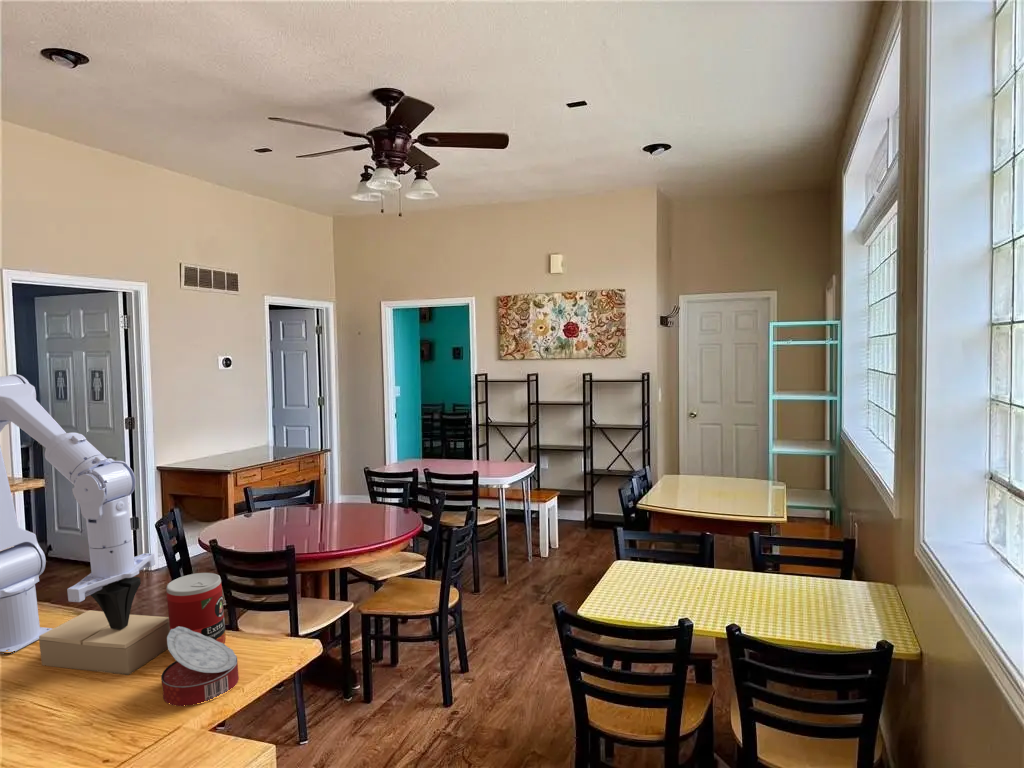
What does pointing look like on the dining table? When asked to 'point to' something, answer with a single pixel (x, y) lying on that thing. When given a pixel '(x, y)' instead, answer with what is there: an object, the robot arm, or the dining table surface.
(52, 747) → the dining table surface
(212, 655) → the canned food
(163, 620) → the flap
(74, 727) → the dining table surface
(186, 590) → the canned food
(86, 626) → the flap
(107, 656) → the carton
